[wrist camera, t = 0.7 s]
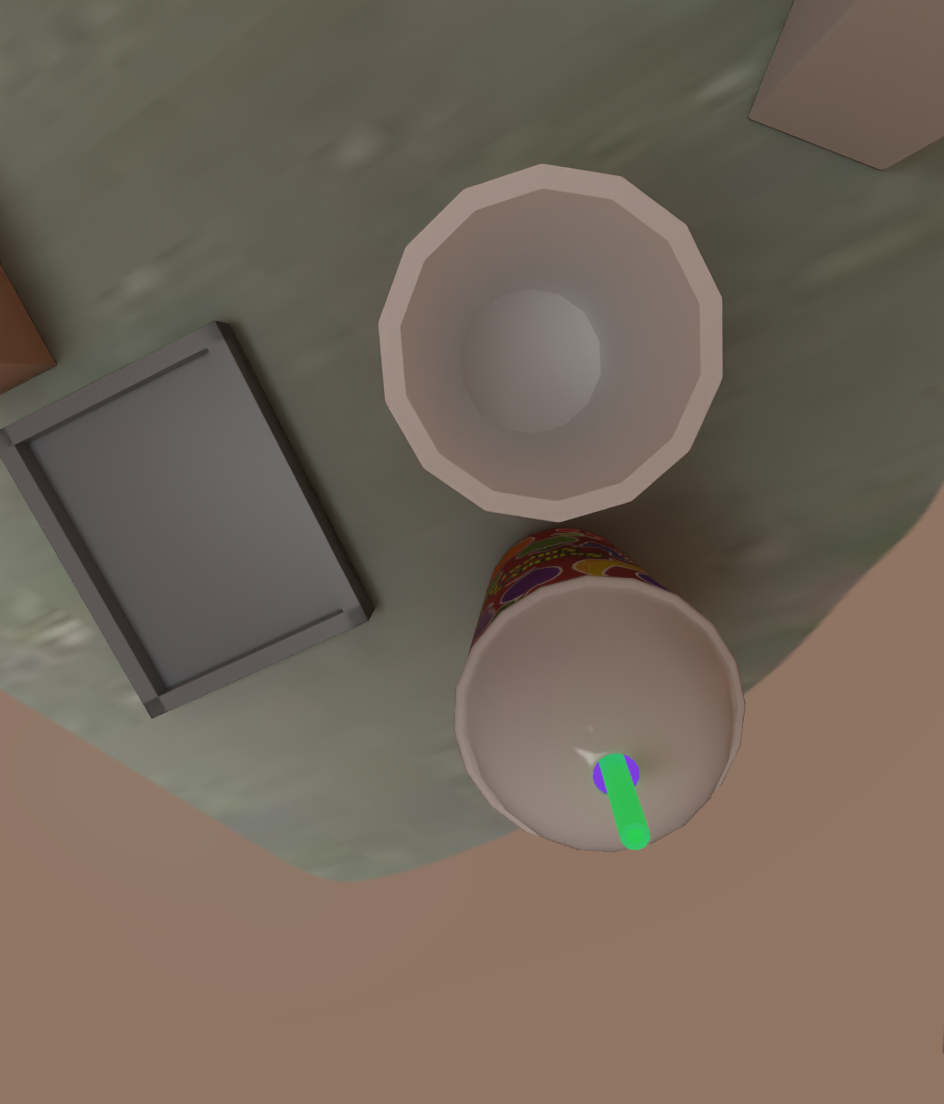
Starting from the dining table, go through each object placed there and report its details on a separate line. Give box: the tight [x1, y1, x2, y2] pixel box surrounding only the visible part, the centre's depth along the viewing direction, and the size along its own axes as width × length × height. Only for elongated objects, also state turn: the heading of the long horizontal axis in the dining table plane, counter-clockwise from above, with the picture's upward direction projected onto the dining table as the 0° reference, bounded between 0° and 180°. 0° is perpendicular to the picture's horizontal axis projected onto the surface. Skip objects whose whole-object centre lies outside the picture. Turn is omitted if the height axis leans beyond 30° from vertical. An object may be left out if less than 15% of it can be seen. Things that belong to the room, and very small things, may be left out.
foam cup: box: [378, 164, 723, 522], centre depth 28 cm, size 10×9×13 cm
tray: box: [0, 321, 374, 718], centre depth 36 cm, size 14×11×2 cm
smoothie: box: [454, 528, 745, 852], centre depth 27 cm, size 8×8×20 cm
